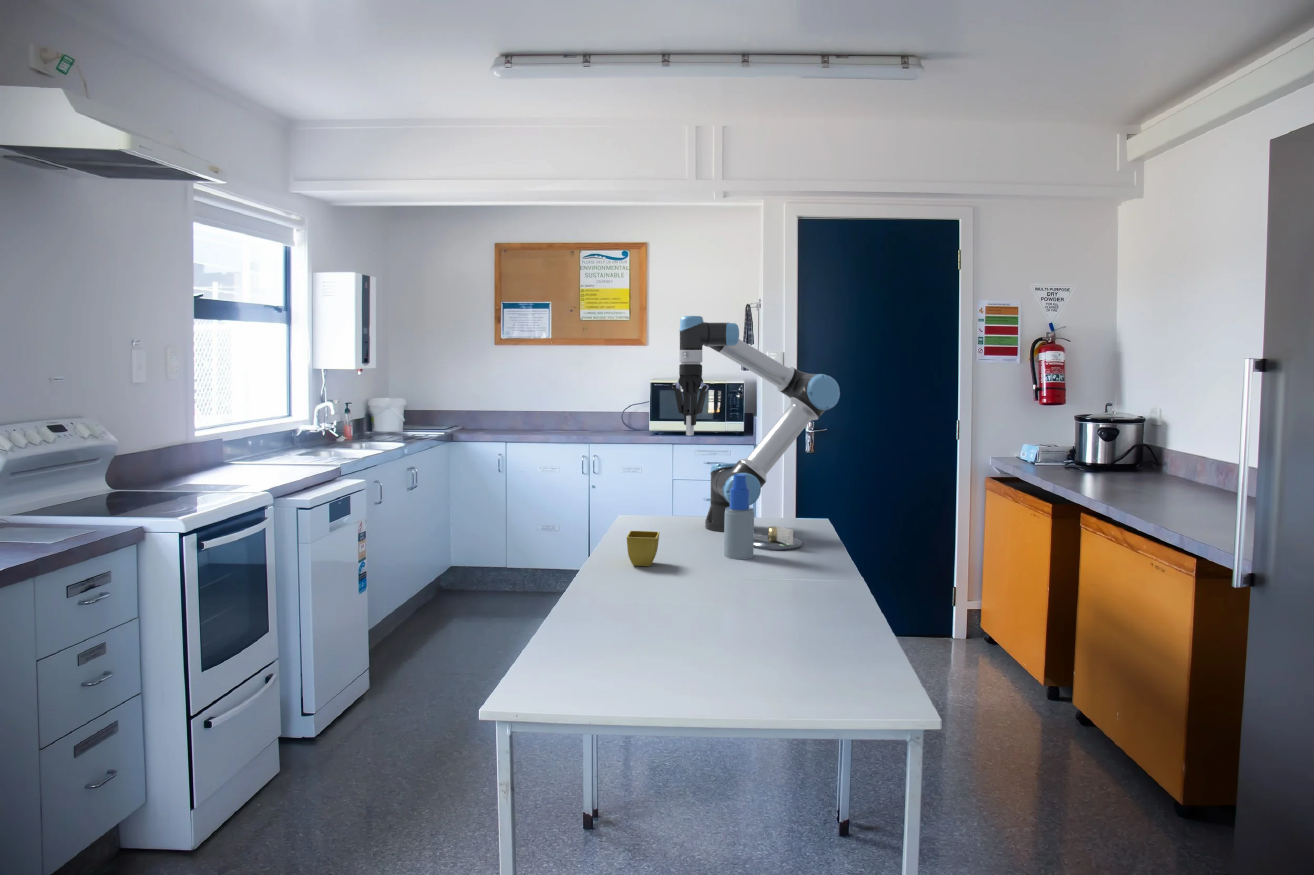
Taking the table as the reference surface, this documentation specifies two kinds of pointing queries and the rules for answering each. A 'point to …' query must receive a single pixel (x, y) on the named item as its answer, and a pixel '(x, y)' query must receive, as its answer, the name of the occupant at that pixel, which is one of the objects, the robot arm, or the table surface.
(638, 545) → the gold square bowl
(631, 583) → the table surface
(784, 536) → the needle dial
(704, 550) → the table surface
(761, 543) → the gauge plate
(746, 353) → the robot arm
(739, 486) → the spray bottle
